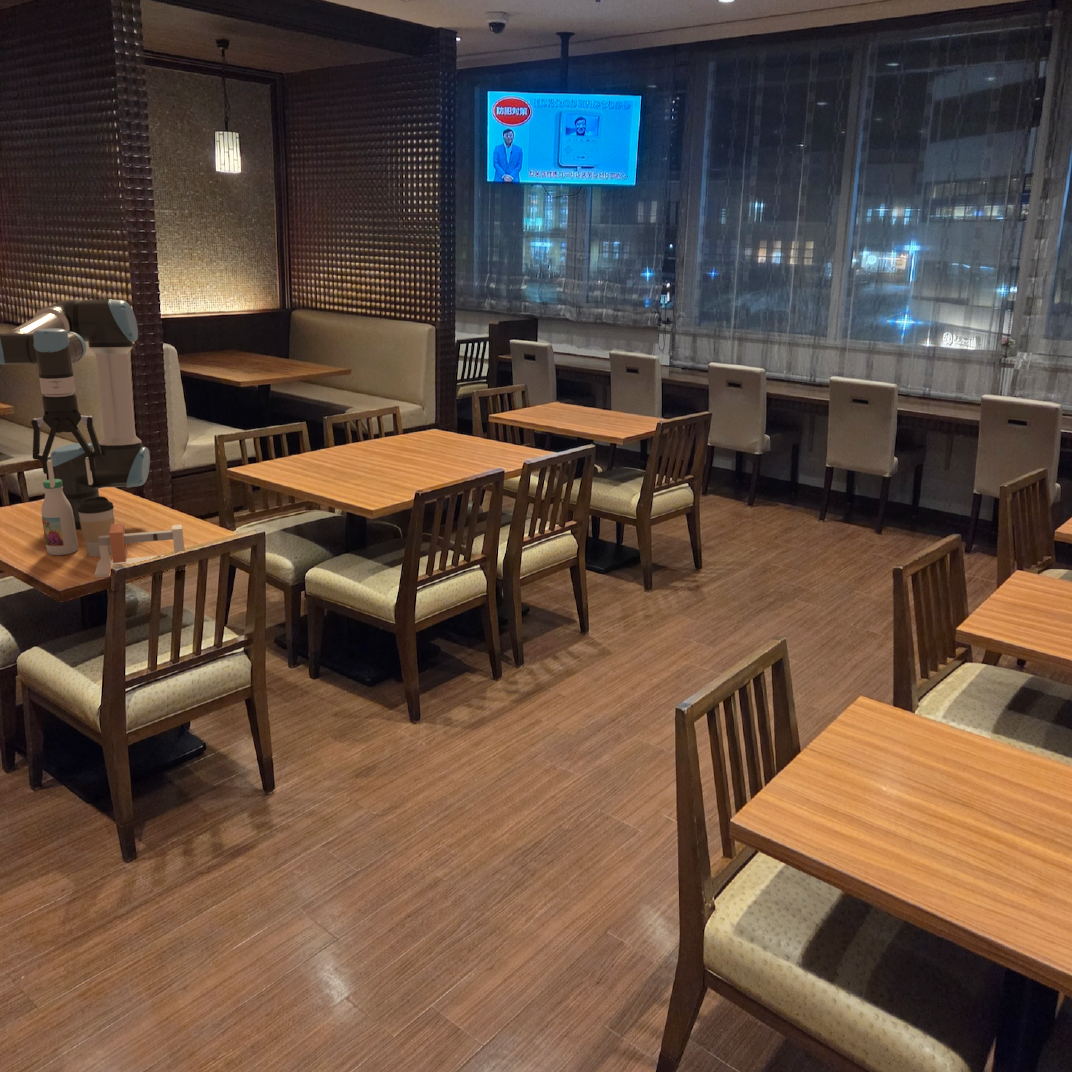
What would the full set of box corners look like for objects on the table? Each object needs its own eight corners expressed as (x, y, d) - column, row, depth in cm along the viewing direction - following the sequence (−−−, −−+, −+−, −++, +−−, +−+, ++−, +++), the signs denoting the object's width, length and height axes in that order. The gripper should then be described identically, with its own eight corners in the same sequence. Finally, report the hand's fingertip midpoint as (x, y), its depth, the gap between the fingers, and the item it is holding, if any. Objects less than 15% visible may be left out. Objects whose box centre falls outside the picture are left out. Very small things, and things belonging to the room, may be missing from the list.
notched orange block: (115, 553, 251) (111, 524, 249) (127, 552, 252) (123, 523, 250) (113, 563, 244) (109, 533, 242) (125, 561, 245) (122, 532, 243)
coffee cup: (106, 559, 256) (98, 505, 251) (76, 556, 257) (68, 503, 253) (126, 548, 264) (119, 496, 259) (97, 546, 266) (90, 494, 261)
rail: (98, 563, 252) (93, 527, 249) (187, 555, 259) (183, 520, 256) (94, 577, 242) (89, 540, 239) (186, 569, 249) (183, 532, 246)
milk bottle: (70, 545, 266) (60, 475, 260) (83, 551, 262) (73, 480, 256) (42, 551, 261) (30, 480, 254) (55, 558, 256) (44, 486, 250)
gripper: (8, 398, 225) (23, 491, 233) (104, 394, 232) (115, 485, 239) (13, 393, 232) (27, 484, 239) (106, 389, 239) (117, 478, 246)
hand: (71, 484), depth 239 cm, fingers open, 8 cm apart
